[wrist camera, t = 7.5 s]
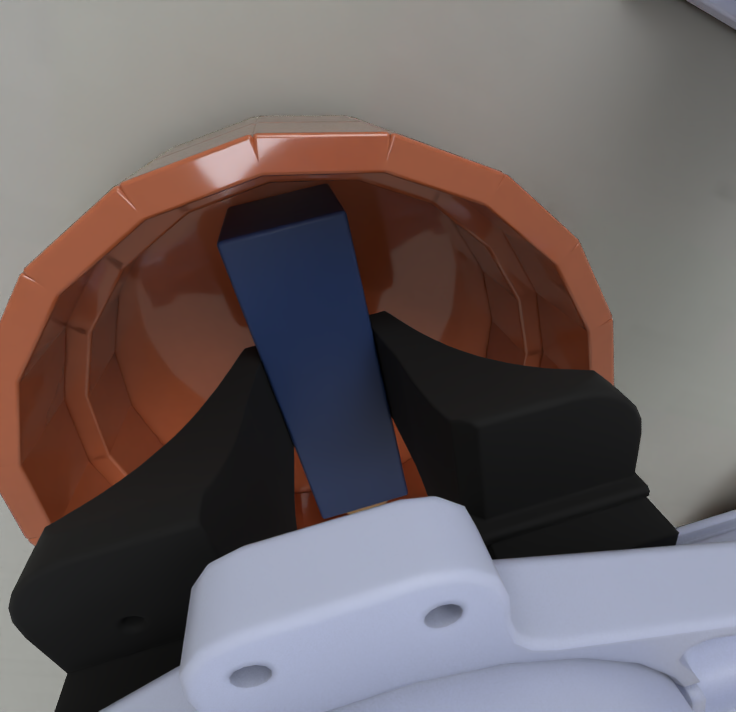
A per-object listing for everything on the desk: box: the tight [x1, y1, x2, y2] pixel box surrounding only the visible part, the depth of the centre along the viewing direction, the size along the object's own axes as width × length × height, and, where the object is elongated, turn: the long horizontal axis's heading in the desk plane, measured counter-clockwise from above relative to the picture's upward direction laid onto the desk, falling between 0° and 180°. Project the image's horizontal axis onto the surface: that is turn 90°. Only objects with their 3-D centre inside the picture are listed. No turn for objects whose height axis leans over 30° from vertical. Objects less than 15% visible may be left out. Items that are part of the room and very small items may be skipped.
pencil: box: [217, 184, 408, 519], centre depth 13 cm, size 10×3×3 cm, turn 11°
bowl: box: [0, 115, 614, 546], centre depth 12 cm, size 13×13×5 cm
